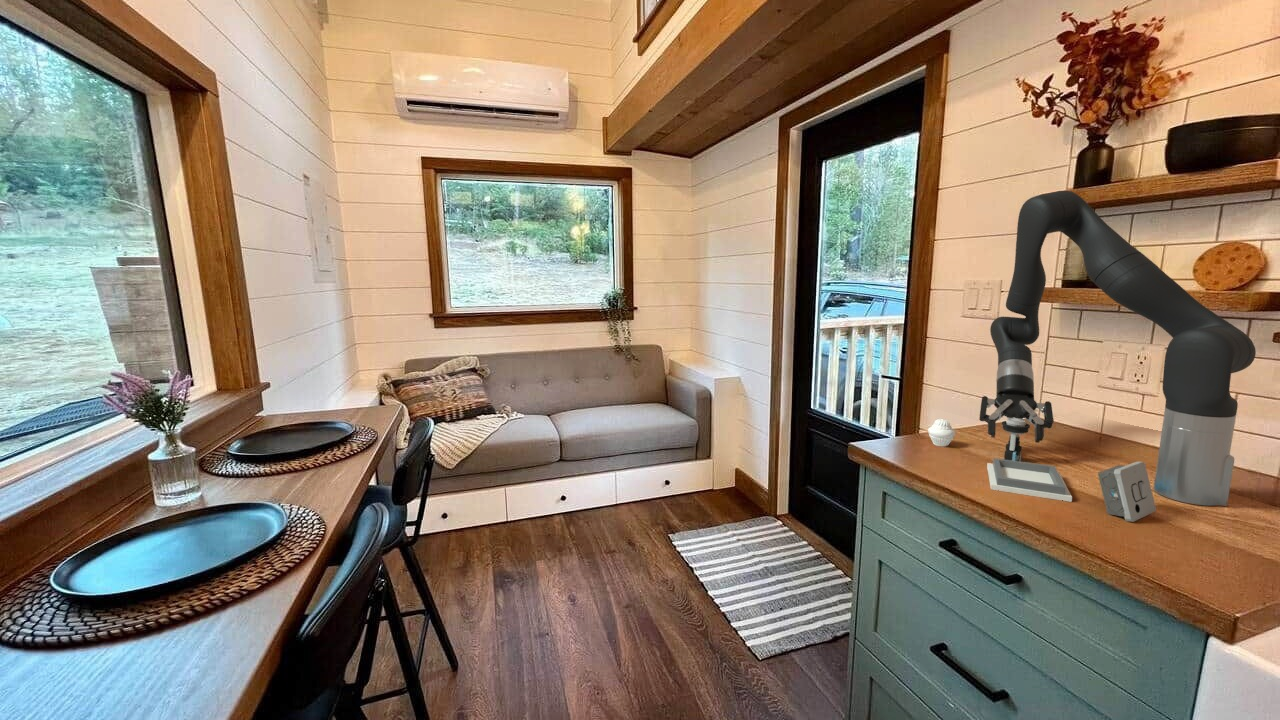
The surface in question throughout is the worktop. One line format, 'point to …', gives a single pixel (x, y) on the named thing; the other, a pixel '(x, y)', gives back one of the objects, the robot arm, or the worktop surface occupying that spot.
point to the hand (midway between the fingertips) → (1015, 438)
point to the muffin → (941, 433)
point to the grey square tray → (1027, 479)
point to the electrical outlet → (1127, 491)
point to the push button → (1014, 437)
